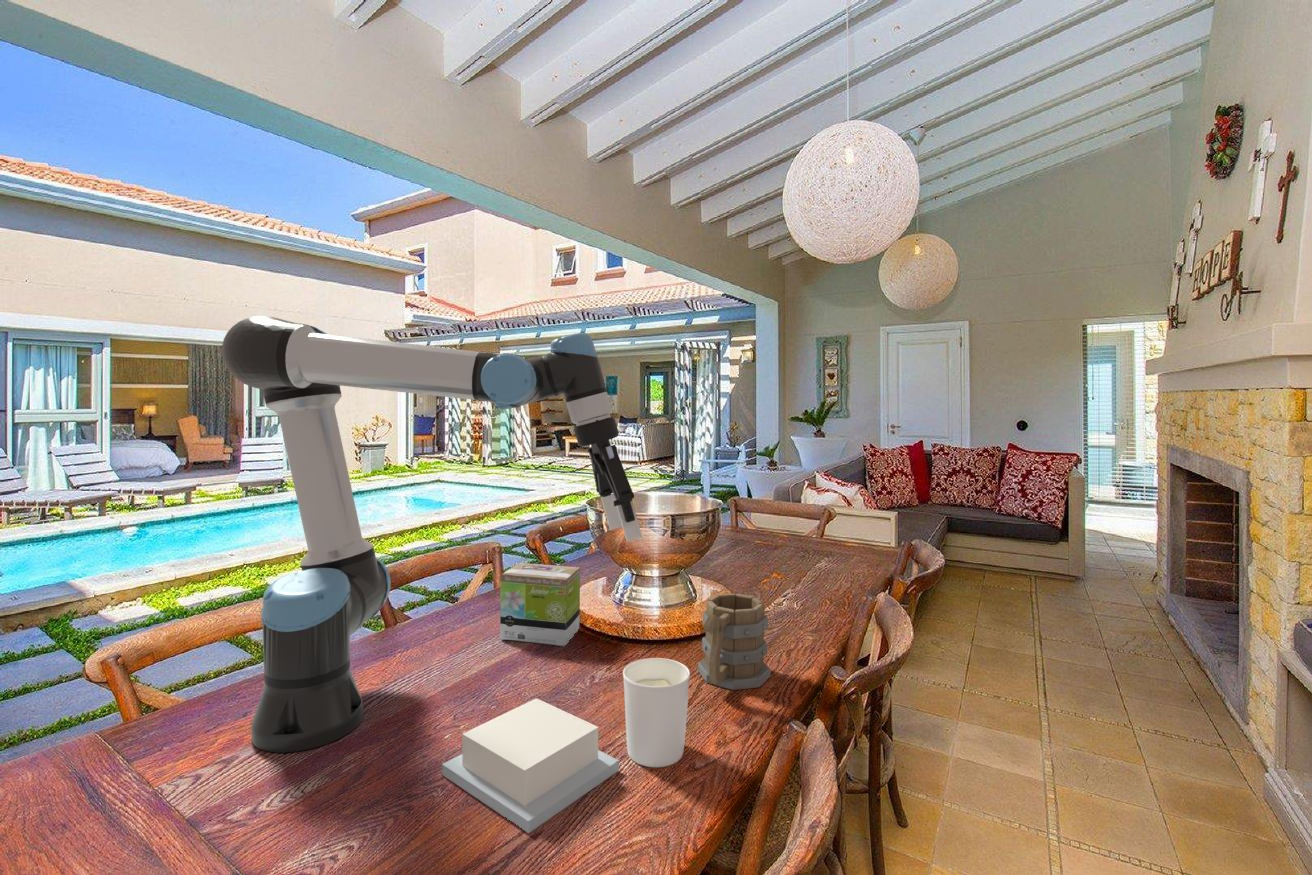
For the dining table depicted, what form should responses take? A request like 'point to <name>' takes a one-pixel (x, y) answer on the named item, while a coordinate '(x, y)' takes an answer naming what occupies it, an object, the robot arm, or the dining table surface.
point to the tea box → (540, 603)
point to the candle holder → (655, 710)
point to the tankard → (734, 642)
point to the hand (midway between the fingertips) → (625, 533)
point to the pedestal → (530, 763)
